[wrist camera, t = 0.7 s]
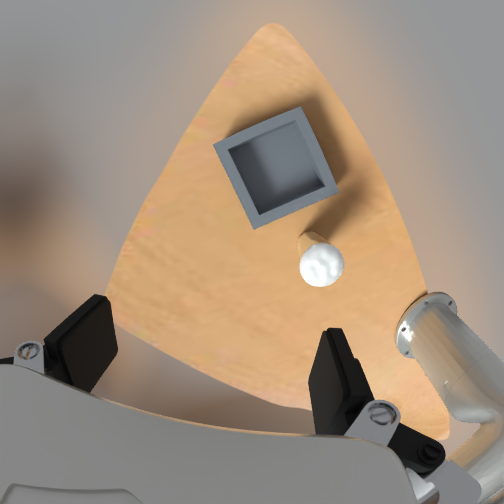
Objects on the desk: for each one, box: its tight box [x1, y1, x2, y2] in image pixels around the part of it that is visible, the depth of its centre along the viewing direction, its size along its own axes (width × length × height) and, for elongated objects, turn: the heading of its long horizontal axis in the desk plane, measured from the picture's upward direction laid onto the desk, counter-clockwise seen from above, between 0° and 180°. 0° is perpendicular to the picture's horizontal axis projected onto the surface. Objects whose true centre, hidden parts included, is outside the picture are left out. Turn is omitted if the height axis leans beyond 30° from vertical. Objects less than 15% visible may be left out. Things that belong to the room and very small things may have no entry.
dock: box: [213, 106, 339, 229], centre depth 30 cm, size 10×10×4 cm
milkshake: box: [297, 231, 344, 287], centre depth 30 cm, size 4×5×10 cm
